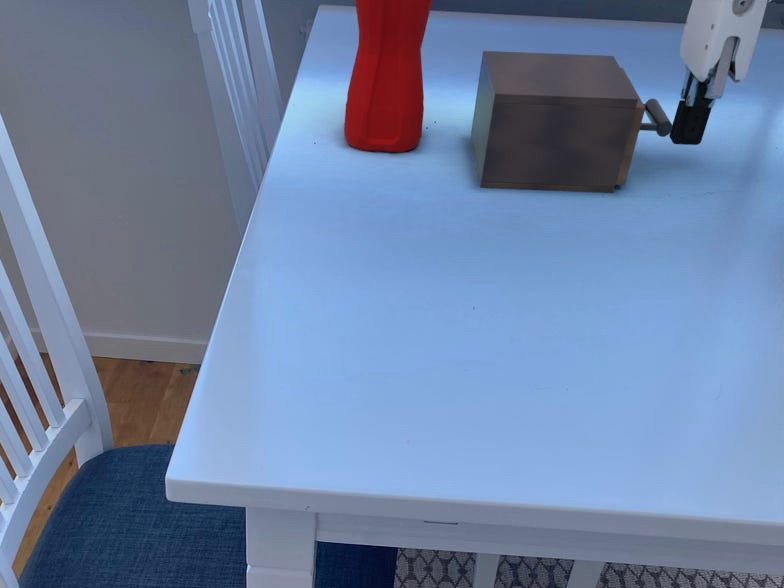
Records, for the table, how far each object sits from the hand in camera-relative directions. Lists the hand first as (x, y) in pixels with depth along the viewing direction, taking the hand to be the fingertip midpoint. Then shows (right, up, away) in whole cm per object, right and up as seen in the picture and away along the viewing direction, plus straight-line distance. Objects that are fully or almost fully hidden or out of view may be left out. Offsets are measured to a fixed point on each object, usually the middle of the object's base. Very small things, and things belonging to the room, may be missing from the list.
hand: (684, 141), depth 106 cm
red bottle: (-34, +4, +8) cm, 35 cm away
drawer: (-12, -1, +2) cm, 12 cm away
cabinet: (-16, -2, +3) cm, 16 cm away
